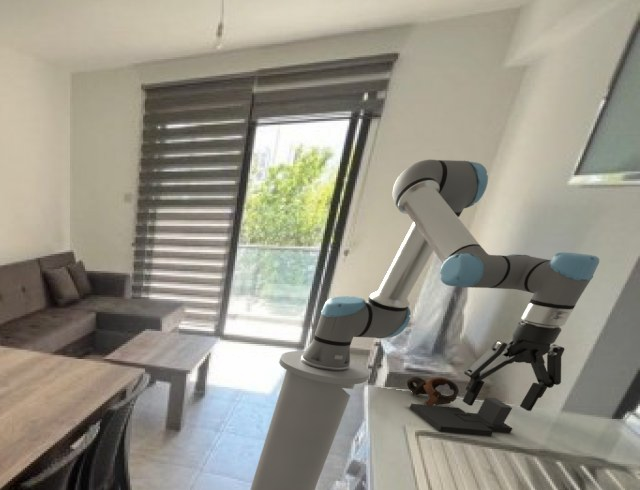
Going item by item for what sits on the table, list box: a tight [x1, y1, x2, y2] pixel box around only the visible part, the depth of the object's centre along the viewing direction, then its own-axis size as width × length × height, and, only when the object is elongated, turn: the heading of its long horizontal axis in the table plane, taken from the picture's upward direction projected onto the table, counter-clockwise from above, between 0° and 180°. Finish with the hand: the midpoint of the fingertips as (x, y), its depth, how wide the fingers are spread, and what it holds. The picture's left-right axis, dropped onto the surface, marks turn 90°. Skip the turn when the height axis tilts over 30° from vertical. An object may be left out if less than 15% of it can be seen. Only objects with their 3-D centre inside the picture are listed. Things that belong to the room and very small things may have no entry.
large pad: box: [409, 403, 495, 437], centre depth 125 cm, size 14×12×2 cm
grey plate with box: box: [457, 397, 513, 434], centre depth 123 cm, size 8×10×6 cm
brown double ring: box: [406, 376, 459, 406], centre depth 136 cm, size 12×10×8 cm
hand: (495, 406), depth 122 cm, fingers open, 13 cm apart
